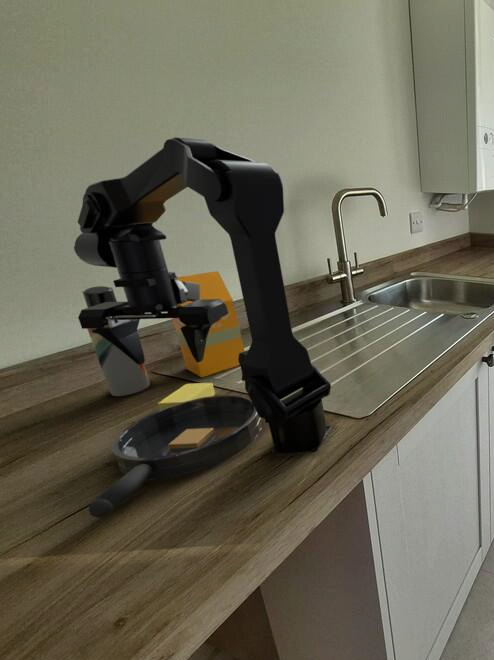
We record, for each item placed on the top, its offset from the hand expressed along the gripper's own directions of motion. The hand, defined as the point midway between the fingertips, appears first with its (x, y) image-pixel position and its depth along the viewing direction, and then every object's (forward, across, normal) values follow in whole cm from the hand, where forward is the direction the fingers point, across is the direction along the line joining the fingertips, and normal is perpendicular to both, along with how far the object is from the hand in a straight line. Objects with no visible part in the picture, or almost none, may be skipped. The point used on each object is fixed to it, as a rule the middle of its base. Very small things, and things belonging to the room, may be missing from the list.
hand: (170, 362), depth 68 cm
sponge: (+9, 0, -1) cm, 9 cm away
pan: (+9, -8, +10) cm, 16 cm away
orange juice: (+9, +6, -19) cm, 22 cm away
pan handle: (+8, -8, +23) cm, 25 cm away
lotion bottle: (+9, +16, -9) cm, 20 cm away
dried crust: (+9, -8, +10) cm, 15 cm away
